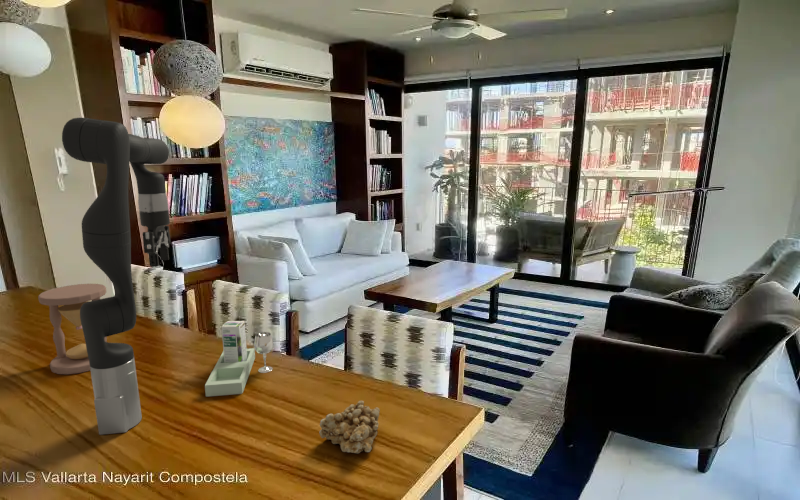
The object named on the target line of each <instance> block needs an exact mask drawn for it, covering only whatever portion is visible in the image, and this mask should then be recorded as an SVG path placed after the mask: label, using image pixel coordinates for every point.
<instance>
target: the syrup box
mask: <svg viewBox="0 0 800 500" xmlns="http://www.w3.org/2000/svg"><path fill="white" fill-rule="evenodd" d="M221 335H222V336H221V339H222V349H223V351H224V363H229V362H243V361H247V349H248V347H247V338H246V336H247V335H246V323H245V320H228V321H226V322H224V323H223V324H222V326H221Z"/></svg>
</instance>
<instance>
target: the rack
mask: <svg viewBox="0 0 800 500" xmlns="http://www.w3.org/2000/svg"><path fill="white" fill-rule="evenodd" d="M255 359H256V350H255V347H252V348H247V361H243V362H229V363H224V350H223V351H222V353H221V355H220V357H219V358H218V360H217V362H216V364H215V366H214V368H213V370H212V371H211V372H210V375H209V377H208V379H207V380H206V382H205V384H204V391H205V397H218V396H229V395H230V396H231V395H241V394H243V393H244V391H245V387H246V384H247V382H248V379H249V376H250V373H251V370H252V368H253V365H254V362H255Z"/></svg>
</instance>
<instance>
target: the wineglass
mask: <svg viewBox="0 0 800 500" xmlns="http://www.w3.org/2000/svg"><path fill="white" fill-rule="evenodd" d="M273 339H274V338H273V336H272V334H271V332H269V331H261V332H258V333H256V334H255V337H254V344H253V345H254V346H253V348H255V353H256V352H257V353H256V354H259V355H262V358H263V362H264V365H263V366H262V367H259V369H258V372H259V373H262V374H266V373H270V372H271V371H273V369H274V368H273V367H272V366H268V365H267V360H266V359H267V354H269V353H270V352H272V351H273V348H274V340H273Z"/></svg>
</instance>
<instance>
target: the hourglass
mask: <svg viewBox="0 0 800 500" xmlns="http://www.w3.org/2000/svg"><path fill="white" fill-rule="evenodd" d="M106 293H107V287H106V286H105V285H104V284H101V283H79V284H78V283H77V284H71V285H69V284H68V285H64V286H60V287H55V288H52V289H51V288H50V289H48V290H45V291H43V292H40V294H39V295H38V296H37V297H38V298H37V299H38V302H39V304H41V305H44V306H48V308H49V321H50V322H51V325H52V326H53V333H52V334H53V335H52V339H53V343H54V345H55V350H56V356H55V357H54V358H53V359H52V360H51V361H50V363H49V368H50V370H51V371H50V372H52V373H54V374H57V375H72V374H73V375H74V374H81V373H85V372H89V371H90V372H91V370H90V364H89V358H88V353H87V348H86V343H80V344H78V345H76V346H73V347H71V348H69V349H67V350H66V346H65V343H66V342H65V341H66V340H65V339H66V338H65V337H66V336H65V333H64V332H63V330H62V327H61V324H62V316H63V317H64V318H65V319H67V320H68V321H69V322H70V323H72V324H73V325H74V326H76V327H75V329H76V330H78V331H79V330H83V329H82V325H81V319H80V309H81V306H82V305H83V304H84V303H86V302H90V301H94V300H99V299H101V297H103V296H105V295H106ZM107 337H108V336H107ZM107 337H104V340H105V342H108V341H107Z"/></svg>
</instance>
